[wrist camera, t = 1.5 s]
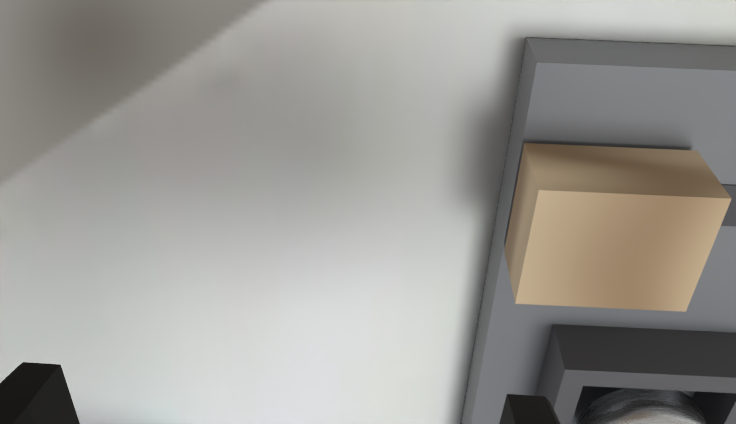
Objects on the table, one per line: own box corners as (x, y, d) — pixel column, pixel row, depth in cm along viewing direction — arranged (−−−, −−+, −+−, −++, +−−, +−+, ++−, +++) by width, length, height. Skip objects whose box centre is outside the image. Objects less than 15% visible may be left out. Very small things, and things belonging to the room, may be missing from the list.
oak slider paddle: (504, 250, 18) (515, 303, 16) (524, 143, 16) (538, 189, 14) (658, 257, 18) (686, 311, 16) (697, 150, 16) (731, 198, 14)
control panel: (443, 526, 28) (448, 607, 26) (526, 37, 16) (551, 96, 13) (759, 542, 28) (796, 625, 25) (1081, 60, 16) (1216, 124, 13)
